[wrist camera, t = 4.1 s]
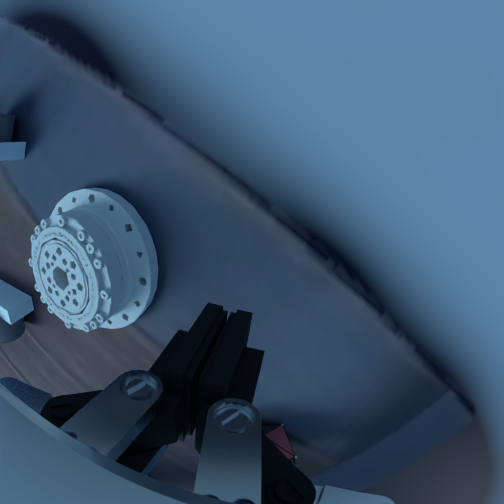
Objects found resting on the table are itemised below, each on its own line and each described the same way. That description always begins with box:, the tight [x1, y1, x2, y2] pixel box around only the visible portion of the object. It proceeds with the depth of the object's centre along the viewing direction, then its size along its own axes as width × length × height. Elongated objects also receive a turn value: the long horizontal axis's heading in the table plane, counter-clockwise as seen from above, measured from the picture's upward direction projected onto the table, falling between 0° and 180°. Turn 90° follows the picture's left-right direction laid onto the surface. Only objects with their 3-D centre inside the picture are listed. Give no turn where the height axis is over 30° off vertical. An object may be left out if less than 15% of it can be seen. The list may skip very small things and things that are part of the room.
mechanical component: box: [29, 188, 158, 332], centre depth 16 cm, size 10×4×10 cm
